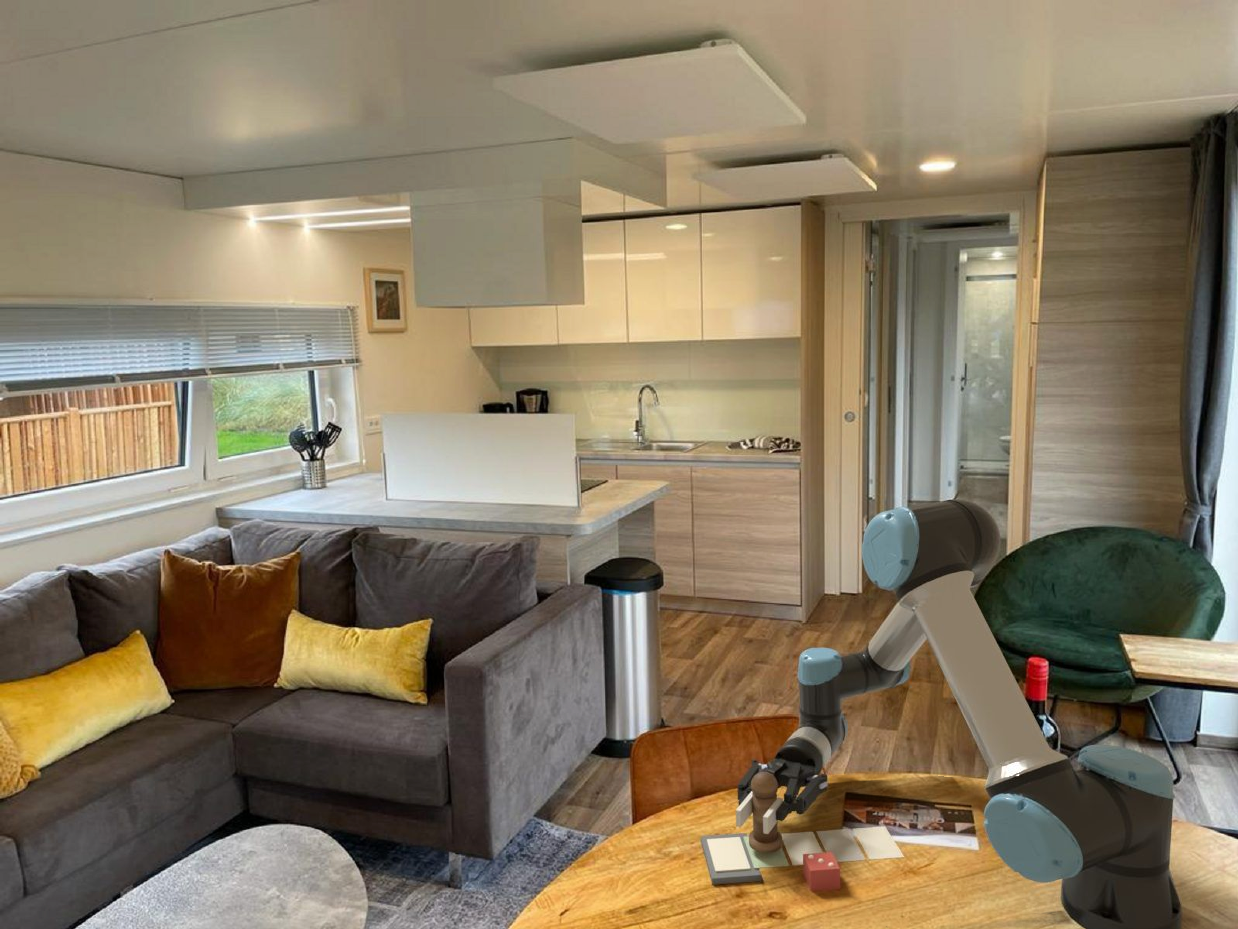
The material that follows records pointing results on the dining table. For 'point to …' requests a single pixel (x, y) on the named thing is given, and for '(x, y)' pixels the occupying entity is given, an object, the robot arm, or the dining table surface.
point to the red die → (821, 871)
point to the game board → (790, 851)
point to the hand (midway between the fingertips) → (751, 822)
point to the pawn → (763, 799)
